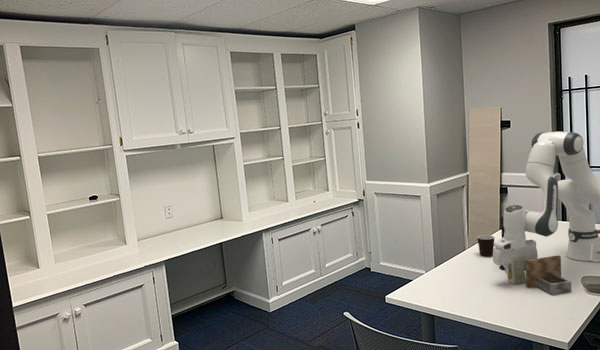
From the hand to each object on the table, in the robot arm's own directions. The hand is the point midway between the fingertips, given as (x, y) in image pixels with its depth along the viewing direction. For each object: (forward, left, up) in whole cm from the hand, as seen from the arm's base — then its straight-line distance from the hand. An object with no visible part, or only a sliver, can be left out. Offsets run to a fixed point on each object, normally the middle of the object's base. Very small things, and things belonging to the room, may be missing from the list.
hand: (515, 271), depth 207 cm
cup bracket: (-8, +13, -5) cm, 16 cm away
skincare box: (0, 0, -5) cm, 5 cm away
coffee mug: (-10, -39, -5) cm, 41 cm away
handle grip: (-8, -16, -5) cm, 19 cm away
